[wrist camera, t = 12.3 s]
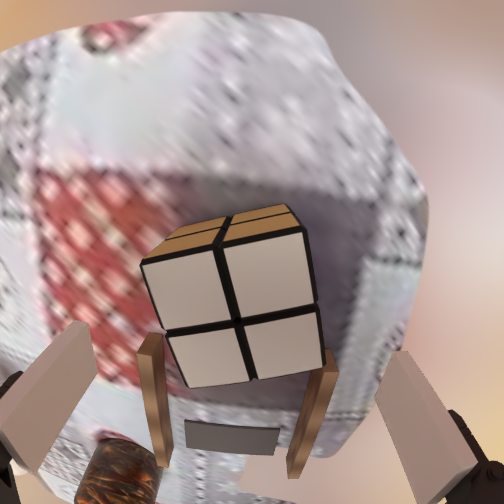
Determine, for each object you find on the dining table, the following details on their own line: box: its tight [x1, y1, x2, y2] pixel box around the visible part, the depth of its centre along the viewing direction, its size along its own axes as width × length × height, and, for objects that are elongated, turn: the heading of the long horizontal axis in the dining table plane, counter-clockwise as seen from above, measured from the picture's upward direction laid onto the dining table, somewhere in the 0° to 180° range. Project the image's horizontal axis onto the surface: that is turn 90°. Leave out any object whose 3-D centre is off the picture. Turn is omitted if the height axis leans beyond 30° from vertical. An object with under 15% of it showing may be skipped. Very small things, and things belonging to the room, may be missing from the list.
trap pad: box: [184, 420, 280, 455], centre depth 34 cm, size 6×12×1 cm, turn 85°
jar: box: [74, 438, 163, 504], centre depth 30 cm, size 12×12×15 cm
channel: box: [137, 332, 339, 479], centre depth 30 cm, size 20×19×4 cm
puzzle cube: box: [139, 204, 327, 389], centre depth 23 cm, size 10×10×10 cm
